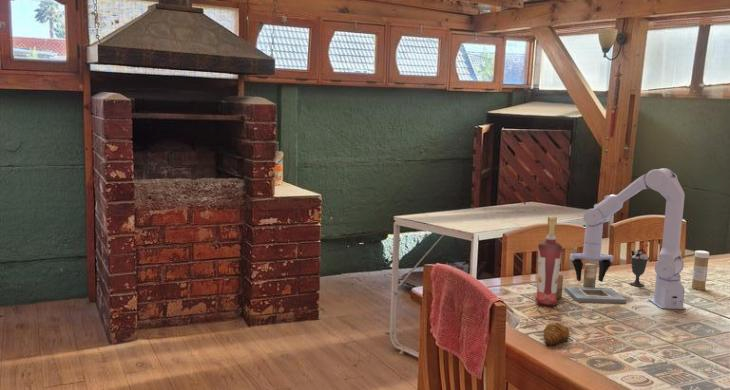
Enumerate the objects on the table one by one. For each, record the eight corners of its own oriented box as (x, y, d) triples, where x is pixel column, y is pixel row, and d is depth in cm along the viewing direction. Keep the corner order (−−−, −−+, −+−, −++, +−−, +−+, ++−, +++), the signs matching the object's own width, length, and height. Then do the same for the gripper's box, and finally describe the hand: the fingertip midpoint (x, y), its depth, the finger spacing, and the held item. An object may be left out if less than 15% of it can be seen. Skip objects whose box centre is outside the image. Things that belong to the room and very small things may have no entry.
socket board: (626, 303, 207) (626, 299, 207) (576, 301, 207) (577, 297, 207) (610, 291, 220) (611, 287, 220) (564, 289, 220) (564, 286, 220)
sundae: (650, 287, 226) (654, 246, 224) (631, 287, 226) (635, 245, 224) (642, 282, 233) (646, 242, 230) (624, 282, 233) (627, 241, 231)
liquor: (558, 308, 199) (565, 220, 195) (534, 306, 201) (541, 218, 197) (556, 301, 206) (563, 216, 202) (533, 299, 208) (539, 214, 204)
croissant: (551, 330, 180) (552, 313, 180) (575, 336, 177) (577, 318, 176) (534, 344, 169) (536, 326, 168) (560, 350, 165) (561, 332, 165)
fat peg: (564, 298, 210) (566, 278, 209) (542, 298, 210) (544, 277, 209) (557, 292, 217) (559, 272, 216) (536, 291, 217) (538, 271, 216)
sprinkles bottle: (694, 285, 231) (698, 249, 229) (707, 288, 227) (711, 252, 225) (688, 287, 228) (692, 251, 226) (702, 291, 224) (706, 253, 222)
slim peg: (596, 289, 222) (598, 266, 221) (585, 288, 222) (587, 266, 221) (592, 285, 226) (594, 263, 225) (581, 285, 226) (583, 263, 225)
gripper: (609, 240, 226) (605, 278, 228) (568, 239, 226) (565, 276, 228) (617, 245, 219) (613, 283, 221) (574, 243, 219) (571, 282, 221)
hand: (589, 280), depth 224 cm, fingers open, 7 cm apart
